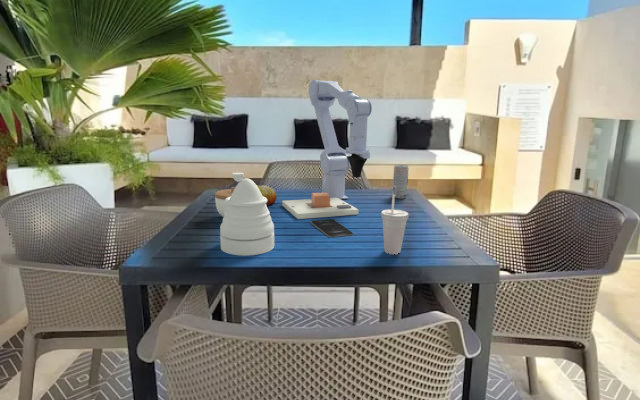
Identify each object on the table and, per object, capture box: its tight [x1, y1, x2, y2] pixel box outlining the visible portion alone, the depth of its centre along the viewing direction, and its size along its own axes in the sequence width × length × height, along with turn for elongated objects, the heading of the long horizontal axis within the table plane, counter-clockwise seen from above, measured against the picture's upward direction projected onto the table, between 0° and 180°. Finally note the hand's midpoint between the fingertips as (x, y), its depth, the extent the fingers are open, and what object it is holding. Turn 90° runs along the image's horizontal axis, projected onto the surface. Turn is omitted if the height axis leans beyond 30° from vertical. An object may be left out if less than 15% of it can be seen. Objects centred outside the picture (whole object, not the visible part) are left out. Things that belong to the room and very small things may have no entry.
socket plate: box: [281, 197, 360, 220], centre depth 141 cm, size 18×20×2 cm
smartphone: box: [310, 218, 354, 239], centre depth 120 cm, size 8×1×15 cm
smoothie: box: [380, 194, 410, 255], centre depth 101 cm, size 6×6×14 cm
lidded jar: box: [214, 186, 236, 219], centre depth 129 cm, size 11×11×9 cm
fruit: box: [256, 184, 278, 206], centre depth 148 cm, size 11×10×8 cm
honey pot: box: [219, 172, 275, 256], centre depth 103 cm, size 13×13×18 cm
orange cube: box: [311, 192, 330, 208], centre depth 141 cm, size 5×5×5 cm
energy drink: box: [391, 164, 409, 200], centre depth 161 cm, size 5×5×12 cm
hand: (356, 177), depth 145 cm, fingers closed
